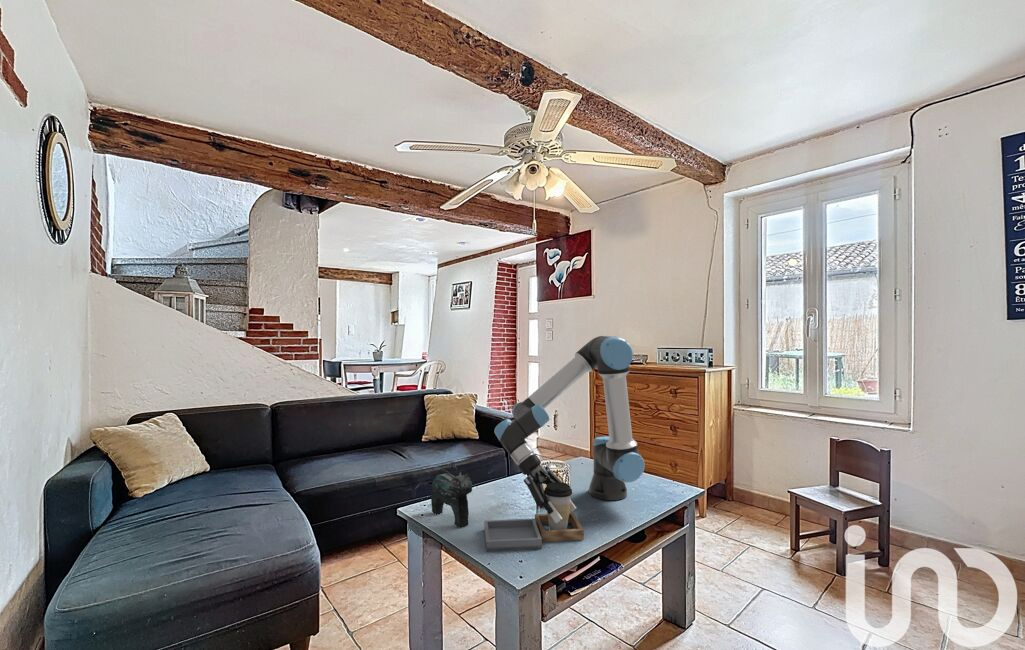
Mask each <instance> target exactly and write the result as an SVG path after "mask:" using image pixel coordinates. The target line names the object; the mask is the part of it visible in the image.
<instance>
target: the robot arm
mask: <svg viewBox="0 0 1025 650" xmlns="http://www.w3.org/2000/svg"><path fill="white" fill-rule="evenodd" d="M633 359H634V350H633V348H632V346H631V344H630V343H629V342H628V341H627V340H625V339H624V338H621V337H620V336H619V337H618V336H607V335H598V336H596V337H594V338H592V339H590V340H589V341H588V342H587V343H585V344H584V345H583V346H582V347H581V348H580V349H578V350H577V351H576V352H575V353H574V357H573V358H572V359H571V360H570V361H568V362H567V364H565V365H564V366H563V367H562V368H560V369H559V370H558V371H557V372H556V373H555V374H554V375H552V376H551V377H550V378H548V380H547V381H545V382H544V383H542V385H541V386H539V388H537V389H536V390H535V391H534V392H533V393H532V394H530V395H529V396H528V397H527V398H525V399H524V400H522V401H521V402H520V401H519V402H516V404H514V406H513V407H512V410H511V411H512V412H511V413H512V417H513V418H514V420H511V419H509V418H505V419H504V420H502V421H501V422H499V423H498V424H497V425H496V426H495V428H494V434H495V436H496V437H497V440H498V442H500V443H501V445H502V447H503V449H505V451H506V452H507V453H508V455H509V456H510V457H511V459H512V460H513V461H514V463H515V465H516V466H518V469H519V471H520V472H521V473H522V474H523V475H524V476H526V477H525V478H524V479H523V482H524V484H525V485H526V486H527V488H528V490H529V493H530V494H531V496H532V498H533V500H534V502H535V504H536V506H537V507H540V508H544V510H545V511H546V513H547V512H548V513H549V514H550V516H551V517H552V518H553V520H554V521H555V523H558V522H559V521H560V520H561V519H562V517H561V515H560V514H559V513H558V511H557V510H556V508H555V507H554V506H553V504H552V503H551V501H549V502H548V500H547V497H546V494H545V491H544V490H545V487H544V485H545V486H547V484H549V483H552V482H562V481H561V480H560V478H559V477H558V476H556V474H555V473H554V472H553V471H552V470H551V468H550V467H549V466H548V465H546V466H545V467H542V465H541V462H542V461H541V460H540V457H538V455H537V454H536V453H534V450H533V448H532V447H531V446H530V444H529V443H528V442H527V441H526V439H527V438H528V437H530V436H531V435H532V434H534V433H535V432H537V431H538V430H540V429H541V428H542V427H544V426H545V425H546V424H547V423H548V422H550V416H549V414H548V412H547V411H546V410H545V409H546V408H547V407H548V406H549V405H550V404H552V403H553V402H554V401H555V400H556V399H557V398H559V397H560V396H561V395H562V394H563V393H565V392H566V391H568V389H569V388H570V387H572V385H574V384H575V383H576V382H577V381H578V380H579V379H581V378H582V377H583V376H584V375H585V374H586V373H589V372H590V373H591V372H593V371H594V370H595V369H597V373H598V375H599V376H600V377H601V378H602V382H603V383H602V384H603V393H604V401H605V402H604V404H605V411H606V419H607V420H606V421H607V430H608V436H606V435H605V436H596V437H595V438H594V439H593V445H592V448H593V474H592V477H591V481H590V483H589V487H588V493H589V494H590V496H592V497H593V498H595V497H596V499H598V498H599V500H602V499H604V500H603V501H620V500H619V499H621V500H623V498H624V499H626V498H627V496H628V488H627V485H626V483H633V482H636V481H637V480H638V479H640V477H641V476H642V475H643V473H644V471H645V465H646V463H645V460H644V458H643V457H642V455H641V454H639V449H638V446H639V445H638V442H637V441H636V440H635V439H634V438H633V432H632V421H631V413H630V412H631V411H630V402H629V401H630V400H629V393H628V382H627V381H628V380H627V375H628V374H629V373H630V364H631V362H632V361H633ZM576 509H577V506H576V505H575V504H574V503H573V501H572V500H571V499H570V509H569V513H573V512H574V511H575V510H576Z"/></svg>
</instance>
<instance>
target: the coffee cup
mask: <svg viewBox="0 0 1025 650" xmlns="http://www.w3.org/2000/svg"><path fill="white" fill-rule="evenodd" d="M544 491H545V494H546V497H547V500H548V502H549V501H551V503H552V504H553V506H554V507H555V508H556V510H557V511H558V513H559V514H560V515H561V517H562V519H561V520H560V521H559V522H558V523H555V521H554V520H553V518H552V517H551V516H550V514H549V513H548V512H547V511H546V514H547V515H548V521H549V524H548V530H564V529H568V524H569V523H568V518H569V513H570V512H569V509H570V500H571V496H572V495H573V488H571V486H570V484H568V483H566V482H562V481H561V482H552V483H549V484H547V485H545V487H544Z"/></svg>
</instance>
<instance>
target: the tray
mask: <svg viewBox="0 0 1025 650" xmlns="http://www.w3.org/2000/svg"><path fill="white" fill-rule="evenodd" d="M483 525H484V527H483V528H484V530H485V531H484V540H485V550H486V552H505V551H507V552H509V551H525V550H542V547H543V545H542V543H543V542H542V538H541V536H540V533H539V530H538V527H537V524H536V522H535V518H516V519H512V518H511V519H491V520H490V519H488V520H484V523H483Z"/></svg>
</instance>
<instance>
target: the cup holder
mask: <svg viewBox="0 0 1025 650" xmlns="http://www.w3.org/2000/svg"><path fill="white" fill-rule="evenodd" d="M534 519H535V522H536V524H537V527H538V530H539V533H540V536H541V538H542V543H543V541H545V542H561V541H563V540H564V541H565V540H566V541H583V540H585V537H584V534H585V533H584V528H583V527H582V524H581V523H580V522H579V519H578V518H577V516H576V515H575V513H574V512H571V513H570V512H569V518H568V524H570V525H571V526H572V528H567V529H564V530H549V529H547V530H545V529H544V527H543V525H549V521H548V515H547V513H539V514H538V513H535V514H534ZM573 527H574V528H573ZM564 541H563V542H564Z"/></svg>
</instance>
